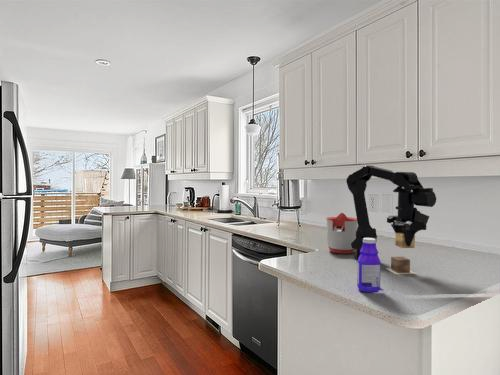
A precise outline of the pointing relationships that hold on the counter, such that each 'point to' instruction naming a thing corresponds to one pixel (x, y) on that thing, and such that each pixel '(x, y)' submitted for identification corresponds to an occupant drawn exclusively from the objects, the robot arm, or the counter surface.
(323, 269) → the counter surface
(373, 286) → the bottle
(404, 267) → the walnut block
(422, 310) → the counter surface
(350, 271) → the counter surface
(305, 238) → the counter surface
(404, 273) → the board
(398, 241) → the ochre block
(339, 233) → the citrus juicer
